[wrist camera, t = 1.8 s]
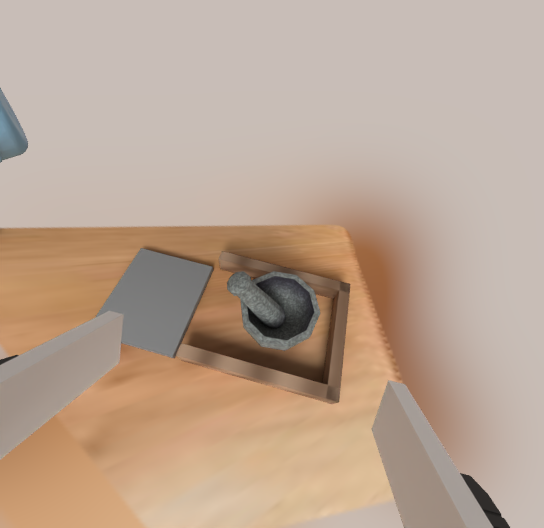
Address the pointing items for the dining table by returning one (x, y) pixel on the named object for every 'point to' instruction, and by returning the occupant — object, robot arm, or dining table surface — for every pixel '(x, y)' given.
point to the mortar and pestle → (276, 308)
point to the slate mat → (157, 300)
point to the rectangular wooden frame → (271, 377)
